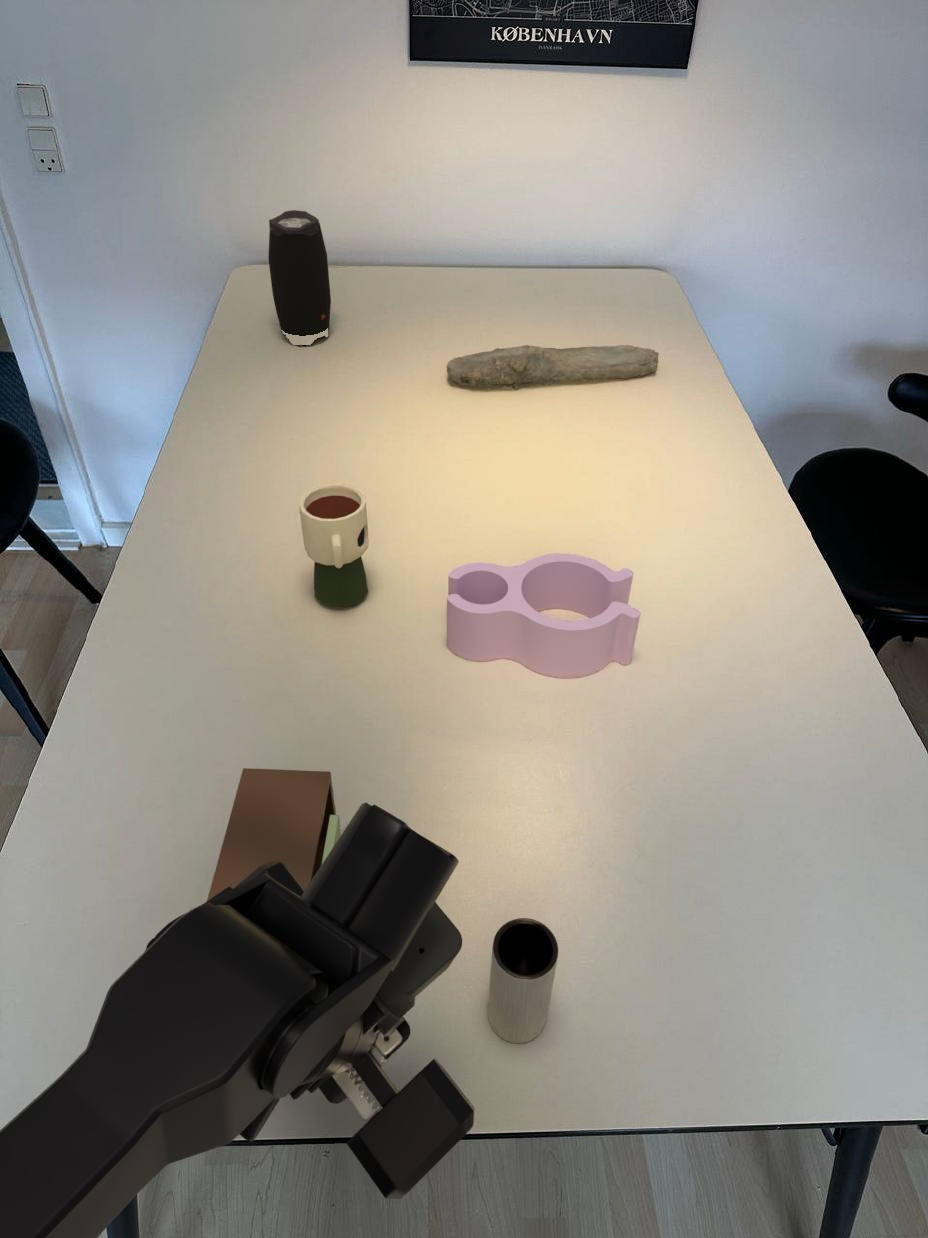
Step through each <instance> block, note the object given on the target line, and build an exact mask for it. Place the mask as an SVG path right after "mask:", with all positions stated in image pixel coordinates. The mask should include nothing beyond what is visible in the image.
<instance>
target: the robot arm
mask: <svg viewBox="0 0 928 1238" xmlns="http://www.w3.org/2000/svg"><path fill="white" fill-rule="evenodd" d="M459 863H460V861H459V859H458V858H457V856H455V855H454V854H452V853H451V852H450V851H448V850H447V849H445V848H443V847H441V846H440V845H438V844H436V843H435V842H433V841H431V840H430V839H428V838H426V837H425V836H423V835H421V834H420V833H418V832H417V831H415V830H414V829H412V828H411V827H410V826H409V825H408V823H406V822H405V821H403V819H400V818H398V817H397V816H395V815H393V814H392V813H390V812H389V811H386V810H385V809H383V808H382V807H380V806H379V805H376V804H374V803H373V804H372V805H371V804H369V803H367V802H364V803H361V804H360V805H359V807H358V809H357V810H356V812H355V813H354V815H353V816H352V818H351V819H350V821H349V823H348V824H347V825H346V827H345V829H344V830H343V831H342V832H341V836H340V838H339V839H338V841H337V842H336V844H335V845H334V847H333V848H332V850H331V851H330V853H329V855H328V856H327V858H326V859H325V861H324V862H323V864H322V865H321V867H320V868H319V870H318V871H317V873H316V874H315V876H314V877H313V879H312V880H311V882H310V883H309V885H308V886H307V888H306V889H305V888H304V887H303V885H302V884H301V883H300V881H299V880H298V879H297V878H296V876H295V875H294V874H293V872H292V871H291V870H290V868H289V867H288V866H287V865H285V864H284V863H282V862H268V863H266V864H264V865H262V866H260V867H258V868H257V869H256V870H255V871H254V872H252V873H251V874H250V875H249V876H248V877H246V878H245V879H244V880H243V881H242V882H241V883H239V884H238V885H237V886H236V887H235V888H231V887H230V886H229V887H227V888H226V889H224V890H223V891H221V892H220V893H219V894H217V895H216V896H214V897H213V898H211V899H210V900H208V901H207V900H206V901H205V902H204V903H203V904H201V905H198V906H196V907H193V908H191V909H190V910H189V911H187V912H185V913H183V914H180V916H178V917H176V918H175V919H173V920H171V921H170V922H168V923H167V924H166V925H165V926H163V928H162V929H160V930H159V932H158V933H156V935H154V937H153V938H151V939H150V940H149V941H148V943H147V945H146V947H145V950H144V951H143V953H141V955H139V956H138V957H137V959H136V960H135V961H133V963H132V964H130V965H129V967H128V968H127V969H126V970H125V971H124V972H122V973H121V975H120V976H119V977H118V978H117V979H116V980H115V981H114V982H113V983H112V984H111V985H110V987H109V988H108V990H107V992H106V994H105V997H104V1000H103V1003H102V1006H101V1008H100V1011H99V1013H98V1016H97V1019H96V1022H95V1024H94V1027H93V1029H92V1032H91V1035H90V1038H89V1040H88V1043H87V1045H86V1048H85V1049H84V1050H83V1052H82V1053H81V1054H80V1055H79V1056H78V1057H77V1058H76V1059H75V1060H74V1061H73V1062H72V1063H71V1064H70V1065H69V1066H68V1067H67V1068H66V1069H65V1070H64V1071H63V1072H62V1073H61V1075H59V1076H58V1077H57V1079H55V1080H54V1081H53V1082H52V1083H51V1084H50V1085H49V1086H47V1088H45V1089H44V1090H43V1091H41V1093H40V1094H39V1095H37V1096H36V1097H35V1098H34V1099H33V1100H32V1101H31V1102H30V1103H29V1104H27V1105H26V1106H25V1107H24V1108H23V1109H22V1110H21V1111H20V1112H19V1113H18V1114H16V1115H15V1116H14V1117H13V1118H12V1119H11V1120H10V1121H9V1122H7V1123H6V1124H5V1125H4V1126H3V1127H2V1128H1V1129H0V1238H98V1237H99V1236H100V1235H101V1234H102V1233H103V1232H104V1231H105V1230H106V1229H107V1228H108V1226H109V1225H111V1224H112V1223H113V1221H114V1220H115V1219H116V1218H117V1217H118V1216H119V1214H121V1213H122V1211H123V1210H124V1209H125V1208H126V1207H127V1206H128V1205H129V1204H130V1203H131V1201H133V1199H134V1198H135V1197H136V1196H137V1195H138V1194H139V1193H140V1192H141V1191H142V1190H143V1189H144V1188H145V1187H146V1186H147V1185H148V1184H149V1183H150V1182H151V1181H153V1179H154V1178H155V1177H156V1176H157V1175H158V1174H159V1173H160V1172H162V1171H163V1170H164V1168H165V1167H166V1166H168V1165H170V1164H173V1163H176V1162H179V1161H182V1160H184V1159H187V1158H191V1157H194V1156H197V1155H200V1154H203V1153H205V1152H208V1151H212V1150H215V1149H217V1148H220V1147H224V1146H226V1145H228V1144H230V1143H232V1142H233V1141H234V1140H235V1139H236V1138H237V1137H238V1136H240V1137H242V1138H243V1139H245V1141H247V1142H254V1141H255V1139H256V1138H257V1137H258V1135H259V1134H260V1132H261V1130H262V1129H263V1127H264V1126H265V1124H266V1122H267V1121H268V1120H269V1117H270V1116H271V1115H272V1113H273V1111H274V1109H275V1108H276V1106H277V1105H278V1103H279V1101H280V1100H281V1099H283V1098H286V1097H287V1096H288V1095H290V1097H291V1099H292V1100H293V1101H295V1100H297V1099H299V1098H300V1097H301V1096H302V1095H304V1094H305V1092H307V1091H308V1092H309V1094H312V1093H315V1092H316V1091H317V1090H318V1089H319V1090H320V1091H321V1093H322V1094H323V1095H324V1097H325V1099H326V1100H327V1101H328V1102H329V1103H331V1104H334V1105H336V1104H341V1103H342V1102H344V1101H345V1100H346V1099H348V1100H349V1102H350V1103H351V1105H352V1106H353V1107H354V1109H355V1110H356V1111H357V1113H358V1114H359V1116H360V1117H361V1118H362V1120H364V1121H365V1122H366V1123H365V1124H364V1125H363V1126H362V1127H361V1128H360V1129H359V1130H357V1132H355V1133H354V1135H352V1136H351V1138H350V1139H348V1141H346V1145H347V1146H348V1148H349V1150H350V1151H351V1152H352V1154H353V1155H354V1157H355V1158H356V1159H357V1160H358V1162H359V1164H360V1165H361V1166H362V1168H363V1169H364V1170H365V1172H366V1173H367V1175H368V1176H369V1178H370V1179H371V1180H372V1182H373V1184H375V1187H376V1188H377V1189H378V1190H379V1192H380V1193H381V1194H382V1196H383V1197H384V1199H393V1200H394V1199H395V1200H401V1199H402V1198H403V1197H404V1196H406V1195H407V1194H408V1193H409V1192H410V1191H412V1189H413V1188H414V1187H415V1186H416V1185H417V1184H418V1183H419V1182H420V1181H421V1180H422V1179H424V1178H425V1176H426V1175H427V1174H428V1173H429V1172H430V1171H431V1170H432V1169H433V1168H434V1167H435V1166H436V1165H437V1164H438V1163H439V1162H440V1161H441V1160H442V1159H443V1158H444V1157H445V1156H446V1155H447V1154H448V1153H449V1152H450V1151H451V1150H452V1149H453V1148H454V1147H456V1145H457V1144H458V1143H459V1142H460V1141H461V1140H462V1139H463V1138H464V1137H465V1136H466V1135H467V1134H468V1132H470V1131H471V1129H473V1127H474V1123H475V1108H476V1107H475V1106H474V1105H473V1104H472V1102H471V1101H470V1100H469V1098H468V1097H467V1096H466V1094H465V1093H464V1092H463V1090H462V1089H461V1088H460V1087H459V1086H458V1084H457V1083H456V1081H455V1080H454V1079H453V1078H452V1076H451V1075H450V1074H449V1073H448V1071H447V1070H446V1068H445V1067H444V1066H443V1065H442V1064H441V1063H440V1062H439V1061H438V1060H437V1059H436V1058H433V1059H432V1060H431V1061H430V1062H429V1063H428V1064H426V1066H424V1067H423V1068H422V1069H421V1070H420V1071H419V1072H418V1073H417V1074H415V1076H414V1077H413V1078H412V1079H410V1080H409V1081H408V1083H406V1084H405V1085H404V1086H403V1087H402V1088H401V1089H400V1090H399V1089H398V1088H397V1087H396V1086H395V1083H393V1082H392V1080H391V1079H390V1077H389V1076H388V1075H387V1073H386V1072H385V1071H384V1069H383V1066H384V1065H385V1064H386V1063H387V1062H388V1060H389V1058H390V1057H392V1056H393V1055H394V1054H395V1053H396V1052H397V1051H398V1050H399V1049H400V1048H401V1047H402V1046H403V1045H404V1044H405V1043H406V1042H407V1041H408V1040H409V1038H410V1035H411V1026H410V1024H409V1022H408V1021H407V1020H406V1018H405V1017H404V1016H405V1015H406V1014H407V1013H408V1012H410V1010H412V1008H413V1007H414V1006H415V1004H416V997H417V996H418V995H419V994H421V993H422V992H423V991H424V990H425V989H426V988H427V987H428V986H430V985H431V984H432V983H433V982H434V981H435V980H436V979H438V978H439V977H440V976H441V975H443V973H445V972H446V971H447V970H448V968H449V967H450V966H451V964H453V961H454V960H455V958H457V956H458V954H459V953H460V952H461V949H462V946H463V937H462V934H461V932H460V930H459V929H458V928H457V926H456V925H455V924H454V923H453V921H452V920H451V919H450V918H449V917H448V915H447V913H445V912H444V911H443V909H442V908H441V907H440V906H439V904H438V903H437V902H436V901H437V899H438V898H439V896H440V894H441V893H442V892H443V889H444V888H445V886H446V884H447V883H448V881H449V880H450V878H451V877H452V875H453V873H454V871H455V870H456V868H457V867H458V865H459ZM363 1084H364V1085H365V1086H366V1087H367V1088H366V1087H364V1088H361V1087H362V1086H363ZM367 1089H368V1090H369V1091H370V1093H369V1094H365V1093H366V1091H367ZM372 1095H373V1097H374V1098H375V1099H373V1100H370V1099H371V1097H372ZM369 1100H370V1101H369ZM376 1101H377V1102H378V1103H379V1105H378V1106H375V1107H374V1105H375V1104H376V1103H377V1102H376Z"/></svg>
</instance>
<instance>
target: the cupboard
mask: <svg viewBox="0 0 928 1238" xmlns="http://www.w3.org/2000/svg"><path fill="white" fill-rule="evenodd" d="M330 815H337V810H336V803H335V795H334V787H333V780H332V773H331V771H328V770H327V771H324V770H303V769H302V770H299V769H298V770H297V769H274V768H273V769H272V768H252V767H251V768H247V767H243V768H242V771H241V775H240V779H239V782H238V786H237V790H236V793H235V797H234V800H233V804H232V807H231V812H230V815H229V819H228V822H227V826H226V830H225V833H224V837H223V840H222V844H221V848H220V852H219V855H218V859H217V863H216V866H215V869H214V874H213V878H212V881H211V885H210V889H209V891H208V892H209V893H208V895H207V899H206V902H207V901H208V900H210V899H211V898H213V897H214V896H216V895H217V894H219V893H220V892H221V891H223V890H224V889H226V888H227V887H229V886H230V887H231V888H235V887H236V886H237V885H238V884H239V883H241V882H242V881H243V880H244V879H245V878H246V877H248V876H249V875H250V874H251V873H252V872H254V871H255V870H256V869H257V868H258V867H260V866H262V865H264V864H266V863H268V862H282V863H284V864H285V865H287V866H288V867H289V868H290V870H291V871H292V872H293V874H294V875H295V876H296V878H297V879H298V880H299V881H300V883H301V884H302V885H303V887H304V888H305V889H306V888H307V886H308V885H309V883H310V882H311V880H312V879H313V877H314V876H315V874H316V873H317V871H318V870H319V868H320V867H321V864H322V858H323V853H324V847H325V841H326V835H327V830H328V824H329V818H330Z"/></svg>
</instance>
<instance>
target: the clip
mask: <svg viewBox="0 0 928 1238" xmlns="http://www.w3.org/2000/svg"><path fill="white" fill-rule="evenodd" d="M633 578H634V571H633V570H632V569H630V568H628V567H624V568H621V569H619V570H613V569H611V567H609V566H607V565H606V564H604V563H602V562H601V561H598V560H596V559H594V558H591V557H587V556H584V555H579V554H574V553H549V554H543V555H540V556H536V557H533V558H531V559H529V560H527V561H525V562H523V563H520V564H517V565H511V566H509V565H508V566H506V565H499V564H496V563H491V562H471V563H466V564H462V565H460V566H458V567H456V568H454V569H453V570H451V571H450V572H449V573H448V581H447V583H448V587H447V590H448V591H447V593H448V594H447V597H446V648H447V649H448V650H449V651H450V652H451V653H452V654H454V655H455V656H457V657H460V658H461V659H464V660H468V661H472V662H490V661H495V660H502V659H504V660H511V661H515V662H517V663H519V664H521V665H522V666H524V667H525V668H527V669H528V670H530V671H532V672H534V673H537V674H540V675H543V676H547V677H551V678H558V679H576V678H582V677H587V676H590V675H593V674H595V673H597V672H599V671H601V670H602V669H604V668H606V667H607V666H608V665H609V664H610V663H611V662H615V663H618V664H620V665H622V666H629V664H630V663H632V657H633V652H634V648H635V643H636V639H637V638H636V637H637V634H638V628H639V623H640V619H641V611H640V610H639V609H637V608H635V607H633V606H631V605H629V600H630V595H631V594H630V593H631V590H632V584H633ZM553 609H557V610H559V609H561V610H568V611H569V610H570V611H573V612H576V613H579V614H582V615H584V616H586V617H588V618H587V619H581V620H563V619H557V618H554V617H550V616H547V615H545V614H543V613H540V612H541V611H542V612H543V611H544V610H553Z"/></svg>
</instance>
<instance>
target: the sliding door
mask: <svg viewBox="0 0 928 1238" xmlns="http://www.w3.org/2000/svg"><path fill="white" fill-rule="evenodd" d="M341 835H342V831H341V822H340V815H339V814H336V815H330V818H329V824H328V830H327V835H326V841H325V847H324V853H323V858H322V864H323V862H324V861H325V859H326V858H327V856H328V855H329V853H330V851H331V850H332V848H333V847H334V845H335V844H336V842H337V841H338V839H339V838H340V836H341ZM322 864H321V865H322Z"/></svg>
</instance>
